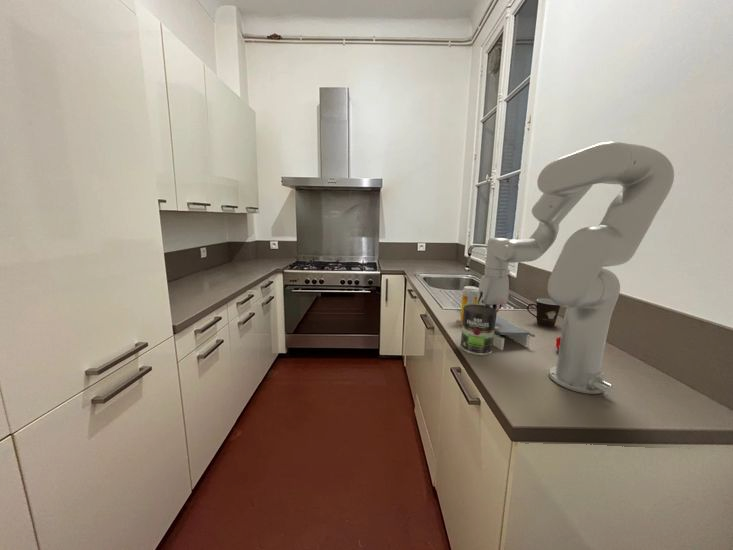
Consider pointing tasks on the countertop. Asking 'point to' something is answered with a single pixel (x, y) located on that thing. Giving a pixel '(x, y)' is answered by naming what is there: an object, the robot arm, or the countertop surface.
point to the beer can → (469, 297)
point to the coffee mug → (546, 312)
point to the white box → (521, 339)
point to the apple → (558, 342)
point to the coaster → (459, 321)
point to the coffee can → (478, 329)
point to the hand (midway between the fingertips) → (490, 321)
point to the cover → (508, 328)
